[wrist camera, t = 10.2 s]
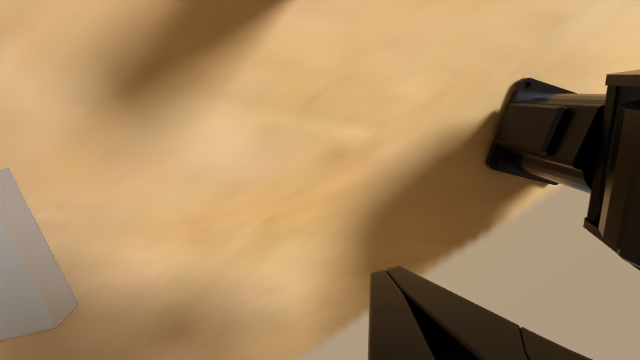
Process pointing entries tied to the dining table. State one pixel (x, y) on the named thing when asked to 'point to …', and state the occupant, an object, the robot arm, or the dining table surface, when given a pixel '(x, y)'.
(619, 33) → the dining table surface
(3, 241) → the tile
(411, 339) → the robot arm
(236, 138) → the dining table surface
